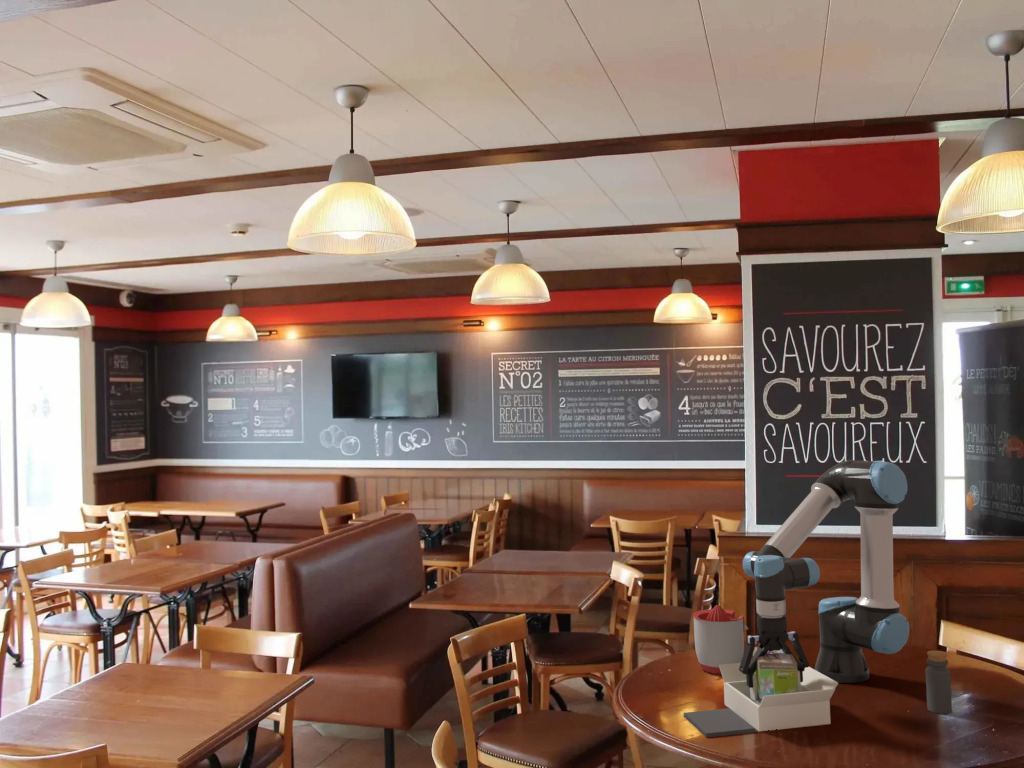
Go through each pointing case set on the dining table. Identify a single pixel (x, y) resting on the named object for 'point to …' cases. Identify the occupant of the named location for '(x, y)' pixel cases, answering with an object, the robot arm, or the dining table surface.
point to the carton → (780, 701)
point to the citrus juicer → (718, 638)
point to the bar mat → (718, 722)
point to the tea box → (776, 674)
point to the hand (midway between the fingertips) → (775, 697)
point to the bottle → (938, 683)
